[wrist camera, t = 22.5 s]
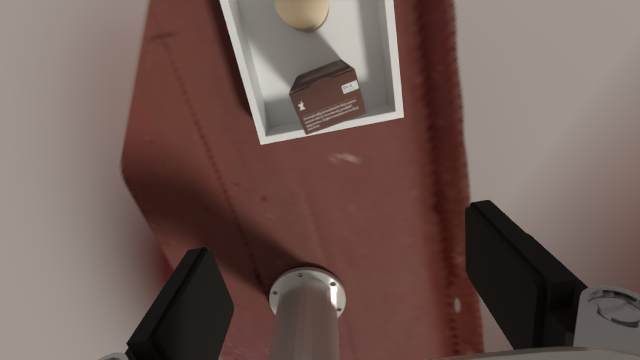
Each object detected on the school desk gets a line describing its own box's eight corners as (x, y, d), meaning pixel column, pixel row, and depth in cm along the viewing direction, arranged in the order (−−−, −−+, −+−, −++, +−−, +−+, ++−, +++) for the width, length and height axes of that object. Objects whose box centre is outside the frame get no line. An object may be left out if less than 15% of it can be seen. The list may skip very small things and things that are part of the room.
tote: (394, 108, 39) (403, 117, 34) (267, 133, 40) (260, 144, 36) (377, -58, 32) (386, -75, 28) (225, -21, 34) (210, -32, 29)
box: (309, 111, 39) (304, 137, 28) (295, 76, 37) (284, 88, 26) (355, 94, 38) (368, 114, 27) (343, 57, 36) (353, 62, 25)
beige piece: (331, -17, 33) (332, -33, 27) (326, 34, 35) (325, 31, 29) (285, -22, 33) (274, -40, 27) (282, 30, 35) (272, 25, 28)
